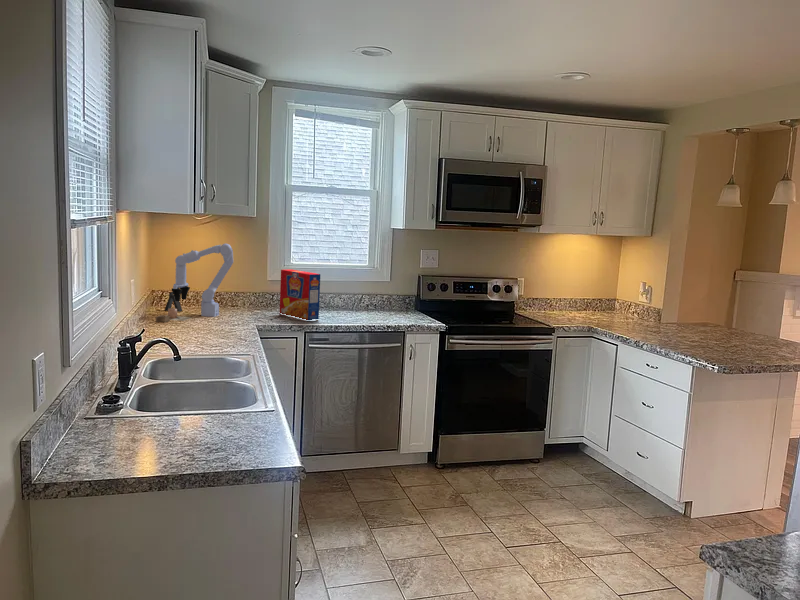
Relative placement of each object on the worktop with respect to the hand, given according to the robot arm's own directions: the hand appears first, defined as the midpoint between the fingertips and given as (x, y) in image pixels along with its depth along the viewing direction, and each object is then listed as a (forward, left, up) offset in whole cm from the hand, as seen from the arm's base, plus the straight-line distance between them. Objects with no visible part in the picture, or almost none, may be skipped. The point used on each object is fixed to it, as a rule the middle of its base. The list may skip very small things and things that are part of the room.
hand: (180, 300), depth 344 cm
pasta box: (-62, -26, -10) cm, 68 cm away
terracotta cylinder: (-1, +11, -8) cm, 14 cm away
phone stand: (+11, -13, -10) cm, 20 cm away
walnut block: (-2, +23, -10) cm, 25 cm away
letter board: (-2, +11, -9) cm, 15 cm away
